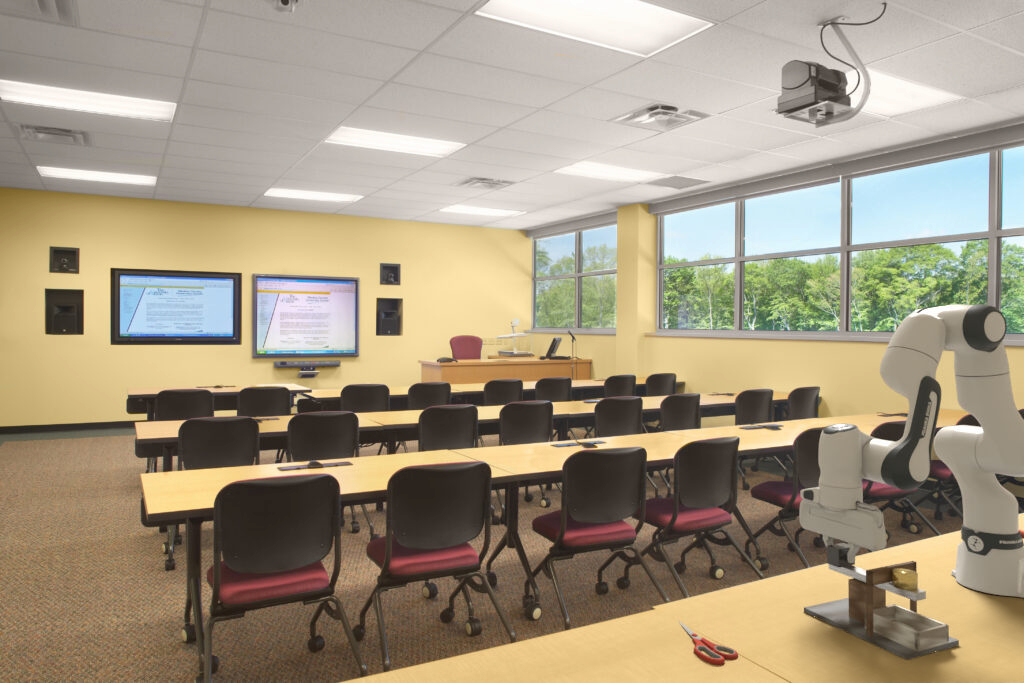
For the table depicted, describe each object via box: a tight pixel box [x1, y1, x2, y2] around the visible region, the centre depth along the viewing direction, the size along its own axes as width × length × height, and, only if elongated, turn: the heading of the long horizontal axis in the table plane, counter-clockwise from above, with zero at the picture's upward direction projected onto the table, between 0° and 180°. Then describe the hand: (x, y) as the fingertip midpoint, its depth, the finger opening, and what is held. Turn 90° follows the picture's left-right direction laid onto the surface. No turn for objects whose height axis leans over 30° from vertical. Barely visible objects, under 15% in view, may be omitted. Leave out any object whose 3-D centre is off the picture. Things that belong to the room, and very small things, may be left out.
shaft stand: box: [803, 560, 960, 661], centre depth 139 cm, size 24×15×14 cm, turn 23°
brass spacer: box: [892, 568, 919, 591], centre depth 133 cm, size 4×4×3 cm
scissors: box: [678, 621, 739, 666], centre depth 134 cm, size 8×21×2 cm, turn 22°
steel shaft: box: [826, 542, 927, 602], centre depth 140 cm, size 20×5×6 cm, turn 23°
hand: (841, 558), depth 147 cm, fingers closed on steel shaft, 3 cm apart
